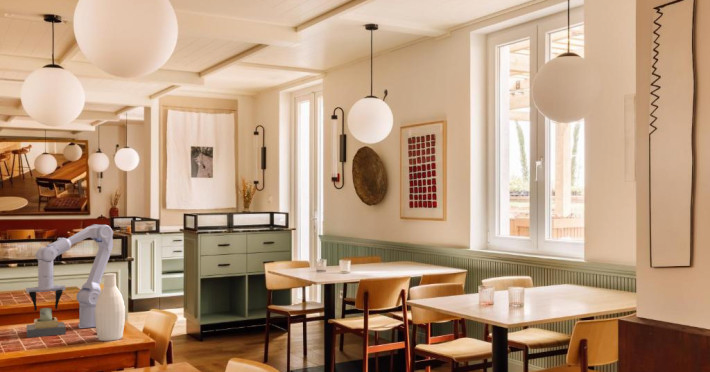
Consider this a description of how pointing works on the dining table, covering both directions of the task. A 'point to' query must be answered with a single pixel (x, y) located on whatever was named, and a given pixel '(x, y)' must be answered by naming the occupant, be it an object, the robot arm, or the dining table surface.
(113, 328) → the bottle
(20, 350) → the dining table surface
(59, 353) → the dining table surface
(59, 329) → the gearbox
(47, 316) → the spout can
